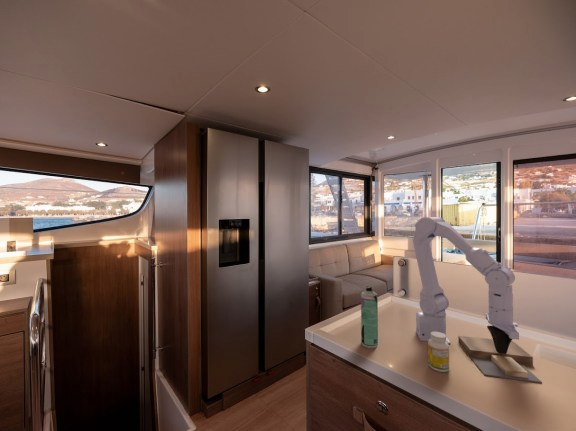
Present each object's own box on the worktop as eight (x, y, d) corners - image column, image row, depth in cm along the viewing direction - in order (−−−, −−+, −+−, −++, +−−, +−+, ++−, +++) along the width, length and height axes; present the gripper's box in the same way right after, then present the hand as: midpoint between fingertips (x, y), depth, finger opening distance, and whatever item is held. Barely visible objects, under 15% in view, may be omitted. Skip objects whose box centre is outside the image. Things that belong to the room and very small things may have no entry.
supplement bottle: (447, 375, 71) (447, 340, 71) (426, 368, 75) (425, 335, 75) (450, 366, 75) (450, 333, 75) (430, 360, 79) (430, 328, 79)
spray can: (378, 342, 90) (378, 285, 90) (377, 349, 85) (376, 289, 85) (362, 339, 92) (362, 283, 93) (360, 346, 87) (359, 287, 88)
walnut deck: (470, 357, 80) (470, 349, 80) (458, 342, 89) (458, 335, 89) (532, 365, 76) (532, 357, 76) (513, 348, 85) (513, 341, 85)
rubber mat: (484, 375, 71) (484, 374, 71) (470, 358, 80) (470, 357, 80) (541, 383, 67) (541, 381, 67) (521, 364, 76) (521, 363, 76)
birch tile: (505, 375, 70) (505, 369, 70) (491, 359, 78) (491, 354, 78) (527, 378, 69) (527, 372, 69) (510, 361, 77) (510, 356, 77)
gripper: (532, 317, 70) (533, 367, 69) (503, 300, 84) (503, 342, 83) (501, 315, 71) (502, 364, 71) (478, 299, 85) (478, 340, 85)
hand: (501, 352), depth 77 cm, fingers closed
